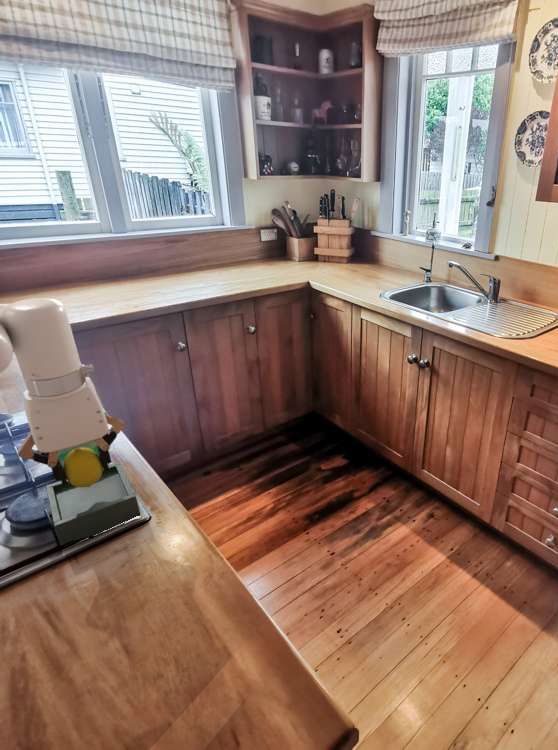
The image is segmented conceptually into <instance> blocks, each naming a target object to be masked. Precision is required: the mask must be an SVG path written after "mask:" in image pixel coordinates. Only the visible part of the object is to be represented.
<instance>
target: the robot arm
mask: <svg viewBox="0 0 558 750" xmlns="http://www.w3.org/2000/svg"><path fill="white" fill-rule="evenodd" d="M14 355H15V358H16V361H17V364H18V367H19V369H20V372H21V375H22V379H23V381H24V385H25V387H26V389H25V390H24V391H23V393H22V400H23V406H24V411H25V416H26V419H27V424H28V427H29V429H30V431H29V433H28V434H27V435H26V437H25V438H24V440H23V441H22V442H21V444H20V445H19V447H18V448H17V450H16V451H17V456H18V458H22V459H27V460H32V461H34V462H36V463H38V464H39V463H40V464H43V465H46V466H47V467H48V468H51V471H52V474H53V478H54V480H55V481H61V482H62V485H63V486H64V485H66V484H68V483H67V479H66V477H65V474H64V470H63V467H62V464H61V461H60V458H58V453H59V450H61V449H64V448H68V447H71V446H75V445H78V444H82V443H85V442H88V441H92V440H94V441H95V443H96V444H97V445H98V446H97V450H98V453H99V457H100V459H101V462H102V466H103V468H104V471H109V467H108V465H110V464H113V463H112V458H111V454H110V451H109V450H110V448H111V447H110V446H111V445H112V444H113V443H114V442H115V440H116V438H117V437H118V435H119V434H120V433H121V431H122V430H123V429H124V428H125V427H126V423H125V422H124V420H123V419H121V418H118V417H117V416H114V415H113V414H110V413H109V412H106V411H105V409H104V407H103V405H102V402H101V399H100V396H99V394H98V391H97V389H96V386H95V385H94V382H93V381H92V380H91V378H90V377H89V376H90V374H91V375H92V374H94V373H95V370H94V366H93V364H89V365H87V364H85V365H84V364H83V363H81V358H80V356H79V351H78V348H77V345H76V341H75V337H74V333H73V330H72V326H71V323H70V319H69V316H68V313H67V310H66V307H65V306H64V304H63V303H62V302H61V301H59V300H57V299H54V298H48V297H34V298H27V299H22V300H18V301H14V302H12V303H0V375H1V374H2V373H3V372H4V371H6V370H7V369H8V367H10V365H11V363H12V360H13V357H14ZM109 426H111V427H110V428H109ZM34 446H35V447H36V449H35V448H33V447H34Z"/></svg>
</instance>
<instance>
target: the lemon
mask: <svg viewBox="0 0 558 750" xmlns="http://www.w3.org/2000/svg"><path fill="white" fill-rule="evenodd" d="M63 469H64V474H65V477H66V479H67V480H68V481H69V482H70V483H71V484H72V485H74V486H76V487H90V486H91V485H93V484H95V483H96V482H97V481H98V480H99V479H100V477H101V475H102V472H103V466H102V462H101V459H100V457H99V456H98V454H97V453H96V452H95V451H93V450H92V449H89V448H76V449H74V450H73V451H71V452H70V453H69V454H68V455H67V456H66V457H65V460H64V464H63Z"/></svg>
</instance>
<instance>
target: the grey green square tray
mask: <svg viewBox="0 0 558 750" xmlns="http://www.w3.org/2000/svg"><path fill="white" fill-rule="evenodd" d="M108 467H109V471H104V468H103V472H102V475H101V477H100V479H99V480H98V481H97V482H96V483H95V484H93V485H91V486H90V487H76V486H74V485H72V484H71V483H70V482H69V481H68V480H67V483H68V484H66V485H64V486H63V485H62V482H61V480H57V481H55V482H53V483H49V484H46V485H45V489H46V494H47V499H48V504H49V508H50V512H51V518H52V522H53V527H54V529H55V532H56V534H57V538H58V540H59V542H60V545H61V544H65V543H67V542H69V541H72V540H76V539H81V538H85V537H89V536H92V535H96V534H99V533H101V532H103V531H104V530H108V529H110V528H112V527H114V526H116V525H118V524H121V523H123V522H125V521H128V520H130V519H132V518H134V517H136V516H140V515H141V514H142V513H141V511H140V506H139V502H138V499H137V495H136V493H135V491H134V488H133V486H132V484H131V482H130V480H129V478H128V475H127V474H126V471H125V469H124V467H123V464H122V462H121V461H117V462H114V463H110V464H108ZM141 516H142V515H141ZM99 535H100V534H99Z"/></svg>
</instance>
